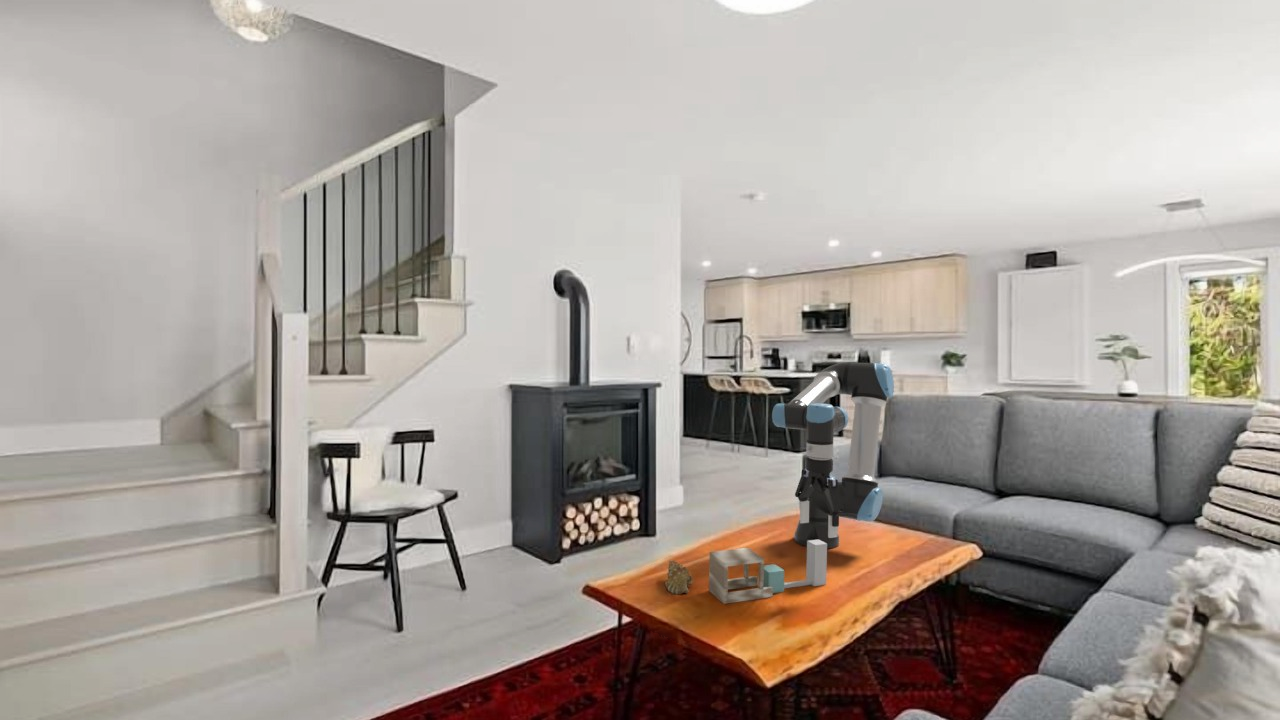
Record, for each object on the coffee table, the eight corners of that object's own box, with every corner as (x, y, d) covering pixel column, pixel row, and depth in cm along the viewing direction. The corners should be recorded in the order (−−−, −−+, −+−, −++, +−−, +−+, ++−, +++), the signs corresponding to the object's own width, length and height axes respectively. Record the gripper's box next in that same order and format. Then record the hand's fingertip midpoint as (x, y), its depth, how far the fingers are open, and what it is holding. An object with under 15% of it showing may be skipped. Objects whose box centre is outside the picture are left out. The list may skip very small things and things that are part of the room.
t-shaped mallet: (816, 578, 182) (817, 538, 181) (827, 585, 177) (828, 544, 177) (759, 586, 175) (759, 545, 175) (768, 593, 170) (769, 551, 170)
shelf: (755, 584, 177) (756, 546, 177) (772, 596, 168) (773, 557, 168) (708, 590, 172) (709, 551, 171) (723, 603, 163) (724, 563, 163)
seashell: (658, 597, 174) (655, 561, 179) (682, 597, 178) (679, 561, 182) (674, 593, 167) (671, 555, 172) (699, 593, 171) (696, 556, 175)
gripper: (784, 450, 188) (783, 518, 189) (836, 467, 164) (834, 545, 165) (804, 448, 190) (803, 516, 191) (859, 465, 167) (857, 542, 168)
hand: (818, 529), depth 178 cm, fingers open, 13 cm apart
